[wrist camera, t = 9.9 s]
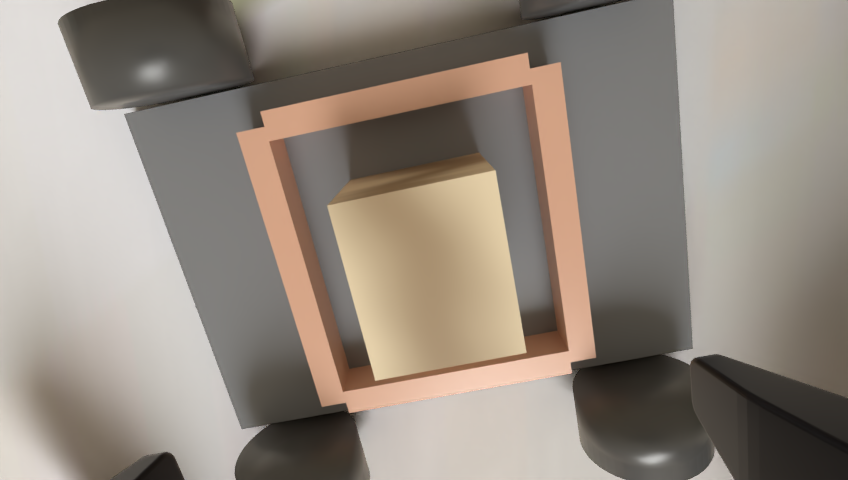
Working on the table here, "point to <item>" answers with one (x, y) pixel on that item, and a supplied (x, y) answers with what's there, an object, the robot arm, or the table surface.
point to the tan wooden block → (429, 266)
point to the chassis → (402, 148)
